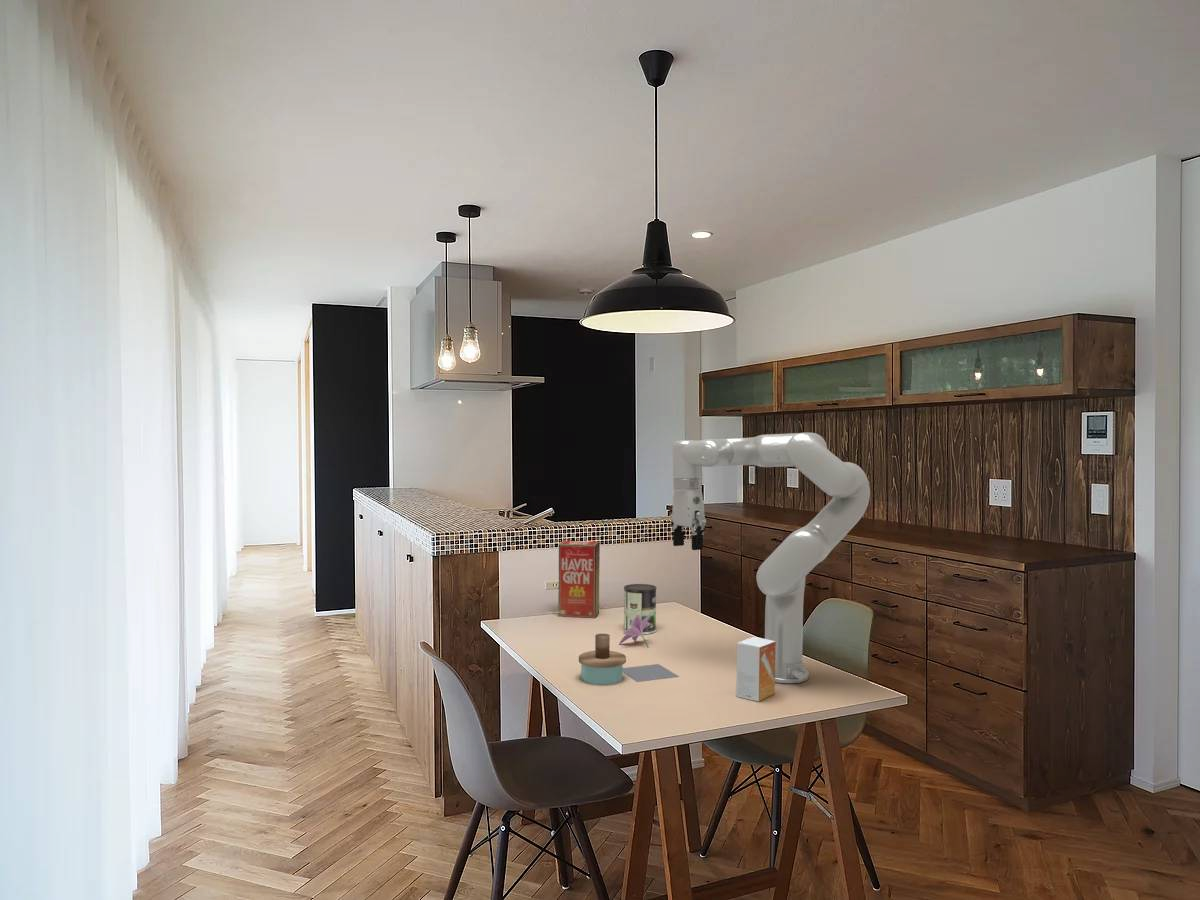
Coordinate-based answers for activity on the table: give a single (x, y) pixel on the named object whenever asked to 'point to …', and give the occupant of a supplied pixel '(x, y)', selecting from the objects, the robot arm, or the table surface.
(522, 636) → the table surface
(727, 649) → the table surface
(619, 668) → the bowl
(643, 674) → the mat
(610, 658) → the lid
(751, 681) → the small box
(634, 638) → the lily
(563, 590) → the food packaging
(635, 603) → the coffee can
